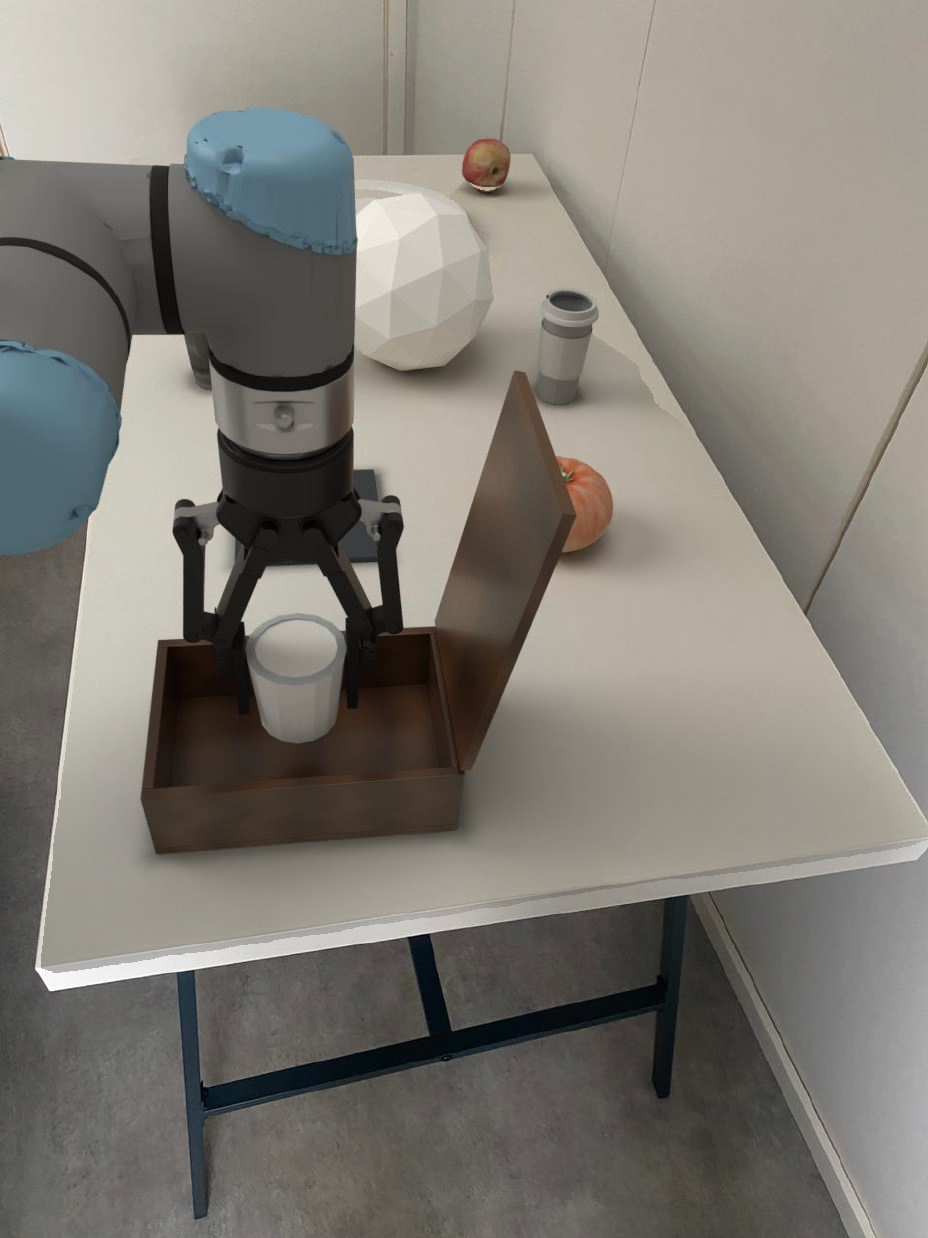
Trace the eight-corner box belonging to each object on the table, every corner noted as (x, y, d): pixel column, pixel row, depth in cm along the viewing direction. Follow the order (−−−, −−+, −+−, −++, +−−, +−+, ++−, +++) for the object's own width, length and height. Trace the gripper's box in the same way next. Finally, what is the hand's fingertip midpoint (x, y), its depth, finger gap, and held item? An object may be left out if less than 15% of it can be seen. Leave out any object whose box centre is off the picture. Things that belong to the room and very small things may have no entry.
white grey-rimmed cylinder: (234, 733, 69) (226, 667, 64) (276, 667, 74) (271, 601, 69) (324, 761, 68) (323, 696, 63) (360, 693, 72) (362, 627, 68)
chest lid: (563, 513, 51) (577, 515, 51) (513, 369, 61) (525, 371, 62) (460, 771, 66) (471, 771, 66) (434, 621, 76) (443, 621, 76)
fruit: (462, 198, 156) (465, 146, 151) (458, 180, 162) (462, 129, 156) (509, 200, 157) (515, 149, 152) (504, 182, 163) (509, 132, 157)
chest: (155, 855, 68) (140, 799, 63) (170, 697, 78) (157, 639, 73) (458, 830, 71) (465, 775, 67) (434, 682, 81) (438, 625, 77)
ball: (434, 390, 127) (534, 267, 120) (402, 419, 109) (518, 276, 101) (321, 291, 125) (416, 159, 117) (270, 304, 106) (378, 148, 99)
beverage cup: (184, 398, 109) (158, 222, 95) (181, 365, 114) (156, 193, 100) (249, 394, 111) (233, 220, 97) (244, 361, 116) (227, 191, 102)
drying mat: (235, 566, 90) (234, 562, 89) (238, 476, 100) (237, 472, 99) (385, 561, 92) (385, 556, 92) (373, 473, 102) (373, 468, 101)
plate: (244, 242, 139) (243, 226, 137) (336, 180, 158) (336, 166, 156) (421, 290, 132) (422, 273, 131) (495, 219, 151) (496, 204, 150)
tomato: (477, 520, 97) (484, 455, 92) (561, 490, 102) (573, 426, 97) (541, 584, 91) (552, 518, 86) (627, 548, 96) (644, 483, 90)
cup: (532, 374, 119) (545, 281, 110) (585, 383, 118) (603, 290, 110) (524, 405, 113) (537, 310, 105) (580, 414, 113) (598, 319, 105)
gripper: (89, 466, 49) (151, 746, 65) (472, 462, 52) (441, 730, 68) (106, 387, 54) (159, 664, 70) (453, 388, 58) (428, 653, 74)
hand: (298, 696), depth 69 cm, fingers closed on white grey-rimmed cylinder, 7 cm apart
